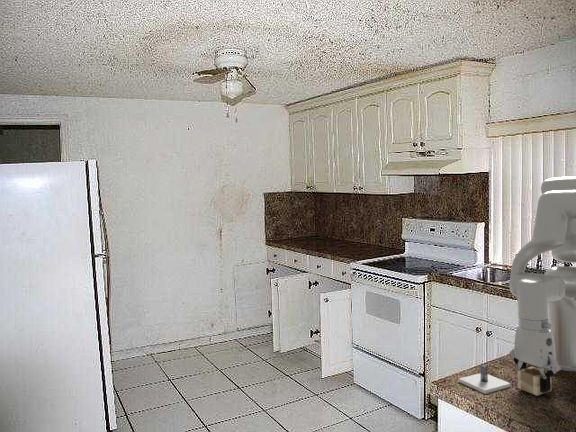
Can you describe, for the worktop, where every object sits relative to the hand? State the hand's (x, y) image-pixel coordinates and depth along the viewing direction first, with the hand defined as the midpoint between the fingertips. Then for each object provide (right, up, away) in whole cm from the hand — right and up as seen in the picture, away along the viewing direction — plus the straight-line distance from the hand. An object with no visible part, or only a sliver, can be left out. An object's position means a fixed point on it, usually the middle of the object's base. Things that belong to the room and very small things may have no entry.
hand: (534, 386), depth 135 cm
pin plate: (-11, -2, +7) cm, 13 cm away
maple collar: (0, -1, 0) cm, 1 cm away
